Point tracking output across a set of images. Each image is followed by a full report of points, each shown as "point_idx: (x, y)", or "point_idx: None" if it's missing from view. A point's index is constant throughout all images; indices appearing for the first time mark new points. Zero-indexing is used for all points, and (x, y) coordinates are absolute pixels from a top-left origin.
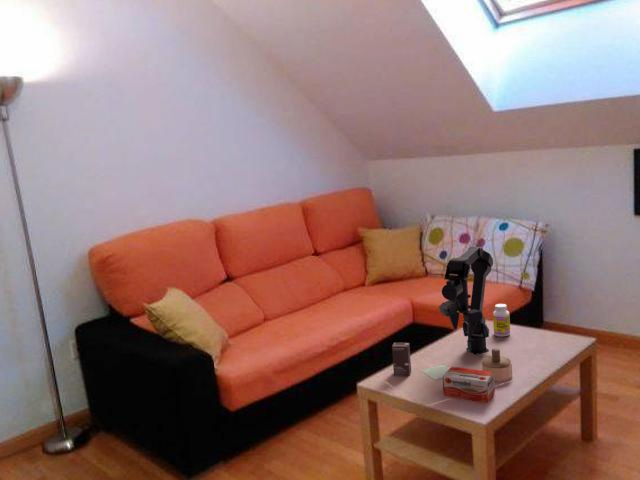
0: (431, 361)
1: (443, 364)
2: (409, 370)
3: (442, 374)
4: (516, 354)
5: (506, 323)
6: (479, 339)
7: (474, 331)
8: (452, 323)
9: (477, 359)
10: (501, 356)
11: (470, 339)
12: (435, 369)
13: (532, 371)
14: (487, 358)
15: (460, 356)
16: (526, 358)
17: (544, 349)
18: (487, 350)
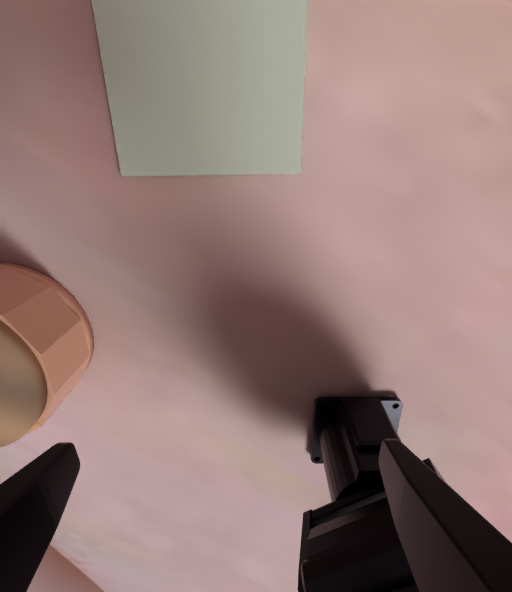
0: (410, 140)
1: (298, 172)
2: None
3: (148, 57)
4: (213, 504)
5: None
6: (334, 488)
7: (341, 532)
8: (448, 516)
9: (259, 372)
10: (9, 439)
11: (378, 457)
12: (255, 64)
13: (26, 459)
14: (3, 365)
15: (348, 330)
16: (157, 507)
17: (201, 577)
18: (310, 454)
